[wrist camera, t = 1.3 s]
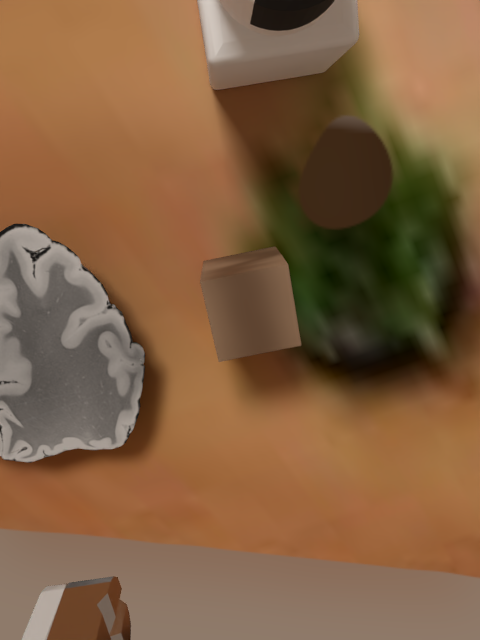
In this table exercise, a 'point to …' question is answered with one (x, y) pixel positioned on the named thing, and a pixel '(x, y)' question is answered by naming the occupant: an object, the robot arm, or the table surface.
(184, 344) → the table surface
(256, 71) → the medicine bottle
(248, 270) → the walnut block
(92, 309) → the brain slice
